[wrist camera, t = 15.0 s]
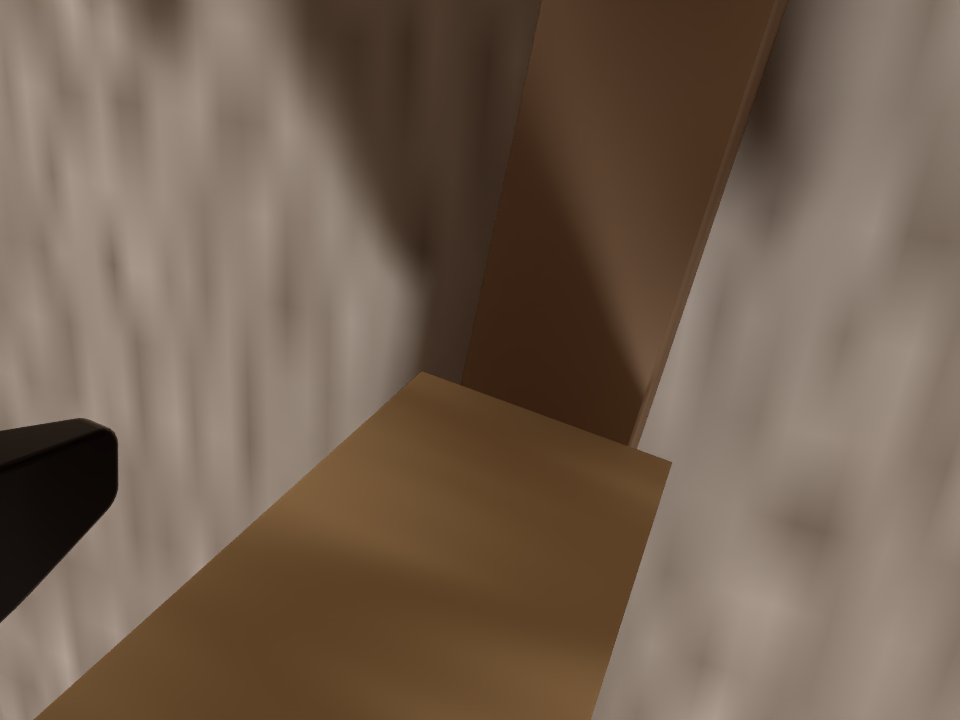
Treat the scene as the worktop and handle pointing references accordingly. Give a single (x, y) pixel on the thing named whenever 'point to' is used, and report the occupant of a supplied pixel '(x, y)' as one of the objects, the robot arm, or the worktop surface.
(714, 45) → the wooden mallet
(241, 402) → the worktop surface
